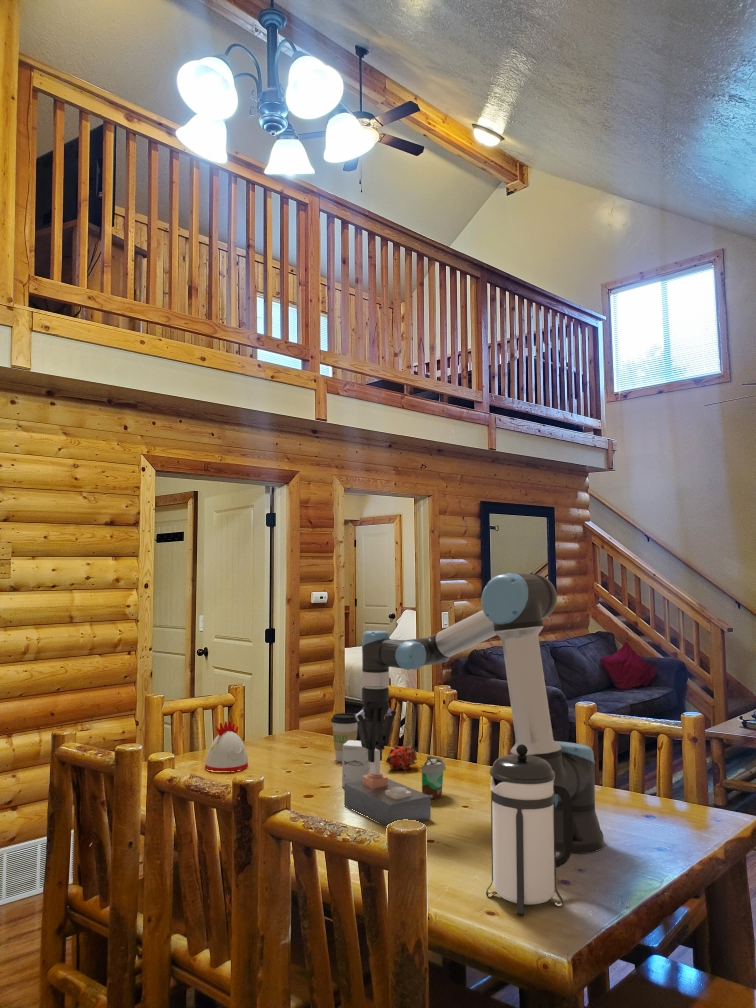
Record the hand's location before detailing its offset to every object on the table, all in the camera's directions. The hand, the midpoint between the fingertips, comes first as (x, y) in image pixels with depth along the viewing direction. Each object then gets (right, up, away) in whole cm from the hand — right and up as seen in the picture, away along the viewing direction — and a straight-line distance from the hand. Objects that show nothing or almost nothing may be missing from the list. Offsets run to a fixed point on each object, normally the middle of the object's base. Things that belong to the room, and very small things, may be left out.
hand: (374, 773), depth 200 cm
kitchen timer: (-49, -13, +40) cm, 65 cm away
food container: (+17, -10, +9) cm, 22 cm away
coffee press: (+31, -4, -57) cm, 64 cm away
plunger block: (+3, -9, -5) cm, 11 cm away
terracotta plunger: (0, -7, -1) cm, 7 cm away
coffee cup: (-11, -14, +50) cm, 53 cm away
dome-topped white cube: (+6, -7, -10) cm, 14 cm away
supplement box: (-6, -11, +20) cm, 24 cm away
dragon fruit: (+9, -13, +38) cm, 41 cm away
